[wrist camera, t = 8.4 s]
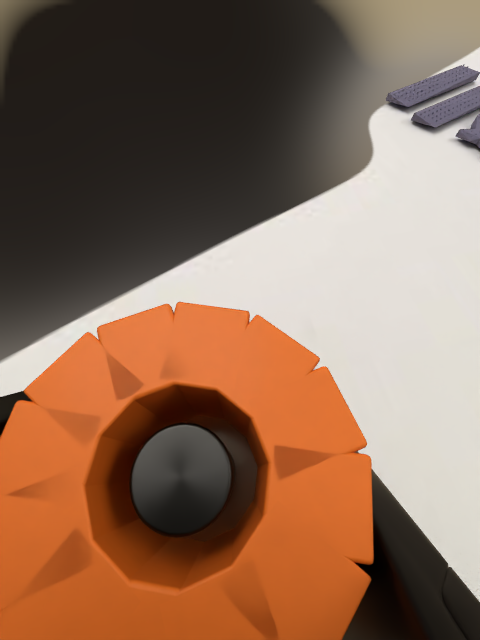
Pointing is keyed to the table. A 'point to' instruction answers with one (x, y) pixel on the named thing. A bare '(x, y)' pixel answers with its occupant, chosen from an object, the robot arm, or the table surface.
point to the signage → (446, 108)
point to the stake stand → (193, 479)
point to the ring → (180, 553)
